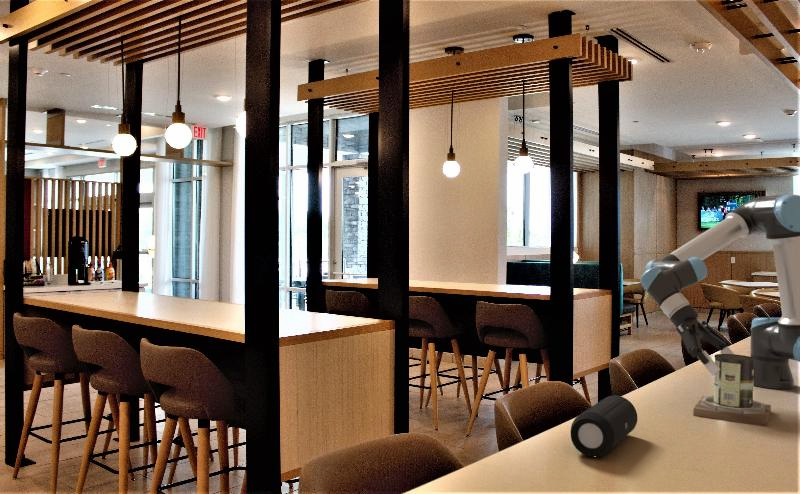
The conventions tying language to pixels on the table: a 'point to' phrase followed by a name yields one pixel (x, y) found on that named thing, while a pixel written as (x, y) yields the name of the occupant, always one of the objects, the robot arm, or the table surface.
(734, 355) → the coffee can
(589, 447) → the portable speaker
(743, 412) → the collar board
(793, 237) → the robot arm
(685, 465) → the table surface
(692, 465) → the table surface
